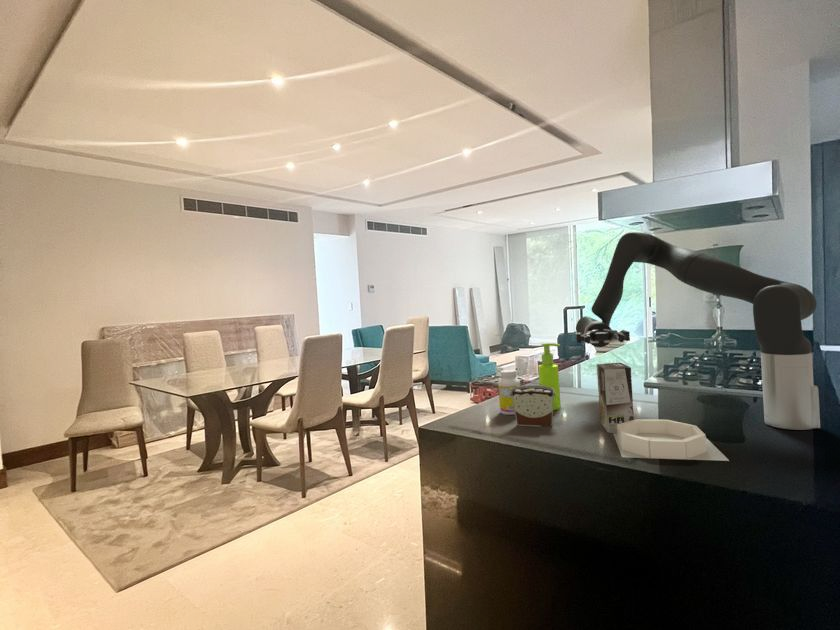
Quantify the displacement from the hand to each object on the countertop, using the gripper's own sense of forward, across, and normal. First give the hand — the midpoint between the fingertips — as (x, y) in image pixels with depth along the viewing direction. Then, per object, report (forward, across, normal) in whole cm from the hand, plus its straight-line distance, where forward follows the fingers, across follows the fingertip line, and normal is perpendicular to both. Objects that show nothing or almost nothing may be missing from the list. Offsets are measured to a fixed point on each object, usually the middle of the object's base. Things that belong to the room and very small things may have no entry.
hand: (605, 339), depth 120 cm
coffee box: (+11, 0, +22) cm, 24 cm away
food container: (+6, -20, +22) cm, 30 cm away
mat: (+25, +8, +21) cm, 34 cm away
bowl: (+25, +7, +21) cm, 33 cm away
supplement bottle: (-5, -27, +22) cm, 35 cm away
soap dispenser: (-10, -15, +22) cm, 29 cm away
